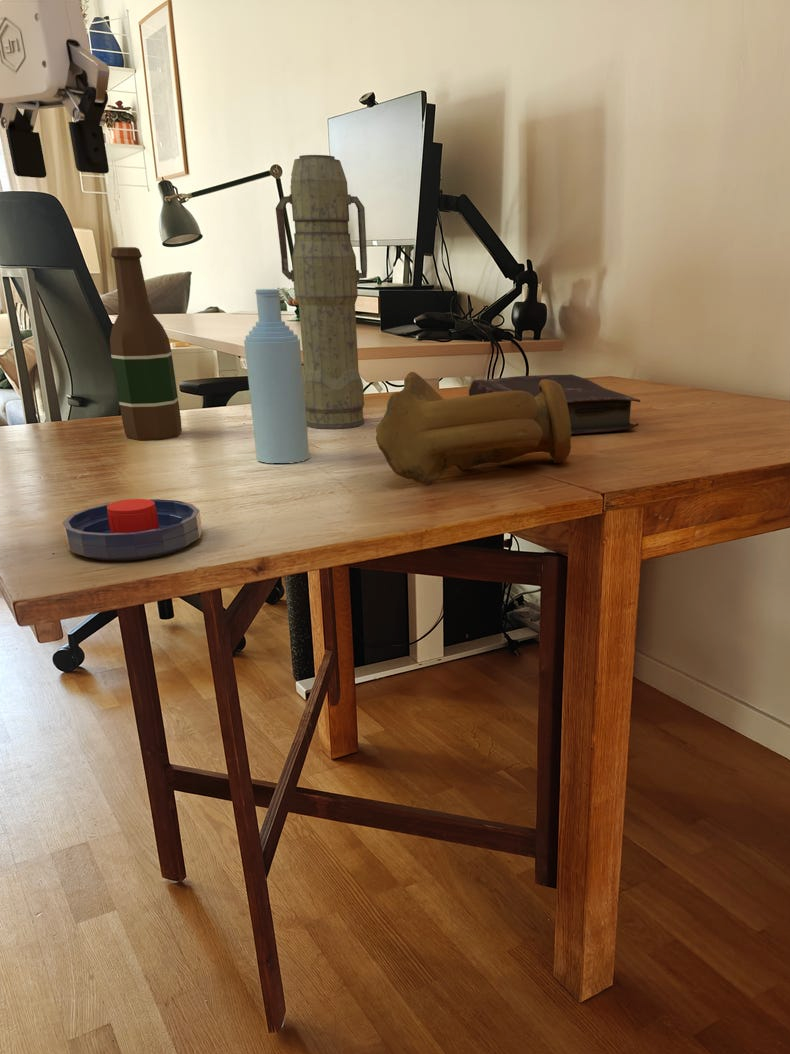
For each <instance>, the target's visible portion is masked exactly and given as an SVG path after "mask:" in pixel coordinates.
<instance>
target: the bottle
mask: <svg viewBox="0 0 790 1054" xmlns="http://www.w3.org/2000/svg"><path fill="white" fill-rule="evenodd" d="M280 292H281V291H280V289H279V288H257V289H255V292H254V294H255V296H256V306H257V307H256V308H257V316H258V317H257V318H258V321H256V322H255V325H254V326H252V330H249V331H248V334H247V335H245V339H244V341H243V345H244V353H245V354H244V355H245V362H246V371H247V382H248V392H249V400H250V401H249V402H250V409H251V419H252V428H253V436H254V438H253V439H254V447H255V454H256V455H255V456H256V461H257V460H258V461H261V462H268V463H290V462H298V461H303V460H306V459H308V458H309V459H310V449H309V436H308V435H309V433H308V426H307V422H306V409H305V397H304V385H303V376H304V372H303V360H302V351H301V350H302V348H301V339H299V336H298V334H296V333H295V332H294V330H293V329H290V325H286V321H284V320H283V319H282V309H281V298H280V296H281V293H280ZM309 459H308V460H309ZM258 461H257V462H258ZM306 461H307V460H306ZM261 462H260V463H261ZM303 462H304V461H303ZM298 463H299V462H298Z"/></svg>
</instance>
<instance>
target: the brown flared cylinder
mask: <svg viewBox="0 0 790 1054" xmlns="http://www.w3.org/2000/svg"><path fill="white" fill-rule="evenodd" d="M375 433H376V436H375V440H376V444H377V446H378V449H379V450H380V451H381V452H382V454H383V456H384V458H385V460H386V462H387V463H388V465H389V467H390V469H391V470H392V471H393V473H394V474H396V475H397V476H399V477H402V478H404V479H407V480H410V479H412V480H413V481H415V482H416V483H419V484H423V485H424V484H425V485H427V484H429V485H430V484H432V483H434V482H436V481H437V480H438V479H439V478H440V477H441V476H442V474H443V473H445V471H447V470H449V468H451V467H457V468H458V469H459V470H460V471H462V472H463V471H466V470H469V469H471V468H473V467H477V466H479V465H480V466H481V465H484V464H485V465H486V464H497V463H503V462H506V461H510V460H512V459H516V458H519V457H522V456H524V455H528V454H532V453H540V452H541V453H548V454H549V456H550V458H551V459H552V461H553V463H555V464H560V463H562V462H564V461H565V460H566V459H567V458H568V457H569V456H570V453H571V449H572V443H571V437H572V434H571V424H570V416H569V410H568V405H567V401H566V397H565V394H564V391H563V388H562V387H561V385H560V384H558V383H557V382H556V381H553V380H548V379H544V380H541V381H540V382H539V394H538V395H537V396H536V397H534V396H533V395H532V394H530V393H528V392H525V391H502V392H492V393H485V394H479V395H472V396H469V395H467V396H466V395H465V396H460V397H452V398H446V399H444V398H443V397H442V396H441V394H439V393H438V392H437V391H436V390H435V389H434V388H433V387H432V386H431V385H430V384H429V382H427V381H426V379H424V377H422V376H421V375H420V374H418V373H417V372H415V371H410V372H409V373H408V374H407V375H406V377H404V386H403V388H402V389H401V390H400V391H397V392H393V393H391V394H390V397H389V398H388V400H387V403H386V411H385V413H384V415H383V417H382V419H381V420H380V422H379V423H378V424H377V426H376V429H375Z"/></svg>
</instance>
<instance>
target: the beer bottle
mask: <svg viewBox="0 0 790 1054" xmlns="http://www.w3.org/2000/svg"><path fill="white" fill-rule="evenodd" d="M110 257H111V258H112V259H113V260H114V262H113V263H114V272H115V282H116V291H117V292H116V293H117V300H118V301H117V303H118V304H117V305H118V307H117V309H118V310H117V311H118V312H117V316H116V319H115V321H114V323H113V325H112V326H111V330H110V331H111V332H110V337H109V347H110V358H111V362H112V368H113V374H114V380H115V386H116V392H117V399H118V404H119V410H120V415H121V421H122V422H121V423H122V426H123V429H124V435H125V437H126V438H127V439H130V440H136V441H158V440H159V441H161V440H165V439H172V438H177V437H179V435H180V434H181V433H182V430H183V429H182V416H181V410H180V403H179V396H178V395H179V394H178V387H177V382H176V374H175V368H174V361H173V360H174V359H173V353H172V348H171V344H170V343H171V342H170V339H169V336H168V334H167V332H166V330H165V328H164V326H163V324H162V323H161V322H160V320H159V319H157V317H156V316H155V314H154V313H153V311H152V308H151V304H150V301H149V296H148V292H147V287H146V282H145V277H144V273H143V268H142V261H141V258H142V257H143V254H142V252H141V250H140V248H139V247H136V246H114V247H113V248H111V253H110Z"/></svg>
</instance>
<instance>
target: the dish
mask: <svg viewBox="0 0 790 1054" xmlns="http://www.w3.org/2000/svg"><path fill="white" fill-rule="evenodd" d="M149 500H152V501H154V502H155V507H156V511H157V517H158V523H159V528H158V529H152V530H145V531H138V532H129V533H111V531H110V526H109V520H108V515H107V513H108V511H107V506H108V505H109V504H111V503H112V502H109V503H103V504H100V505H95V506H92V507H87V508H84V509H81V510H78V511H76V512H73V513H72V514H69V515H68V516H67V517H66V518H65V519H64V520H63V521H62V522H61V525H62V530H63V535H64V540H65V544H66V547H67V549H68V550H69V551H70V552H71V553H74V554H76V555H80V556H83V557H85V558H89V559H92V560H97V561H107V562H118V561H119V562H124V561H137V560H138V561H139V560H146V559H151V558H152V559H153V558H157V557H161V556H165V555H169V554H172V553H175V552H178V551H180V550H183V549H185V548H186V547H188V546H189V545H190V544H192V543H193V542H195V541H197V540H199V539H200V538H201V535H202V533H203V526H202V519H201V512H200V509H199V508H198V507H197V506H195V505H194V504H193V503H189V502H185V501H180V500H175V499H159V498H158V499H157V498H153V499H149Z"/></svg>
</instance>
